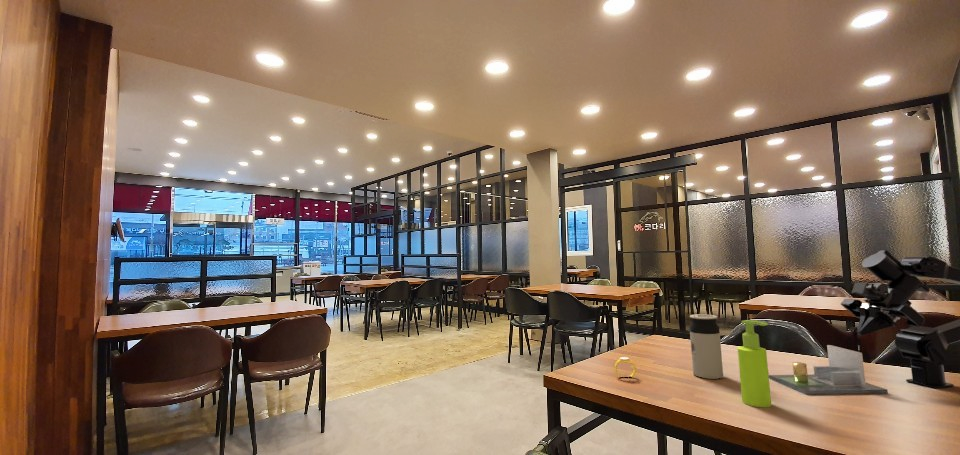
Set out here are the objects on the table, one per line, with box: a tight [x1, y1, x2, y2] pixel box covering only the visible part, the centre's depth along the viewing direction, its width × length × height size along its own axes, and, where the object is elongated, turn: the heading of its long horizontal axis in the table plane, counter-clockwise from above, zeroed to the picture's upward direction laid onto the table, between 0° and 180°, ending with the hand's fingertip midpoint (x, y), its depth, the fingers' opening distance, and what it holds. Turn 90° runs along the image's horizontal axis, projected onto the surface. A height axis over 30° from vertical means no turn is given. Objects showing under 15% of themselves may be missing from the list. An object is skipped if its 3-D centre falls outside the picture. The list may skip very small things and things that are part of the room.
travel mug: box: [689, 313, 724, 380], centre depth 121 cm, size 8×8×18 cm
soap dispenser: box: [737, 319, 772, 408], centre depth 97 cm, size 6×7×20 cm
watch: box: [614, 356, 637, 378], centre depth 121 cm, size 6×3×6 cm, turn 80°
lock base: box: [768, 361, 889, 396], centre depth 108 cm, size 20×14×6 cm
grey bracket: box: [813, 344, 867, 386], centre depth 108 cm, size 6×10×8 cm, turn 177°
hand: (859, 334), depth 109 cm, fingers closed
